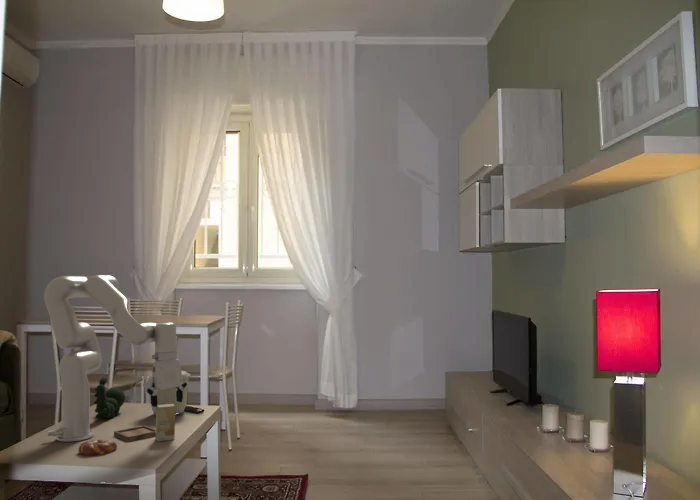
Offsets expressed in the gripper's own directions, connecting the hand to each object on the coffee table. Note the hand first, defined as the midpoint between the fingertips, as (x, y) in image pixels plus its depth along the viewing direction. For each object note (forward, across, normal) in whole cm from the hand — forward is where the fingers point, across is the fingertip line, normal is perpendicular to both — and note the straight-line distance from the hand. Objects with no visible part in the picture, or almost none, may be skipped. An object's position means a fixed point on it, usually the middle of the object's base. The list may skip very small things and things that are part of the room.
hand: (167, 404), depth 211 cm
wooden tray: (+12, -6, +14) cm, 19 cm away
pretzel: (+13, -23, +4) cm, 27 cm away
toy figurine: (+12, 0, +53) cm, 55 cm away
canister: (+12, +19, +38) cm, 44 cm away
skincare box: (+13, -1, +1) cm, 13 cm away
